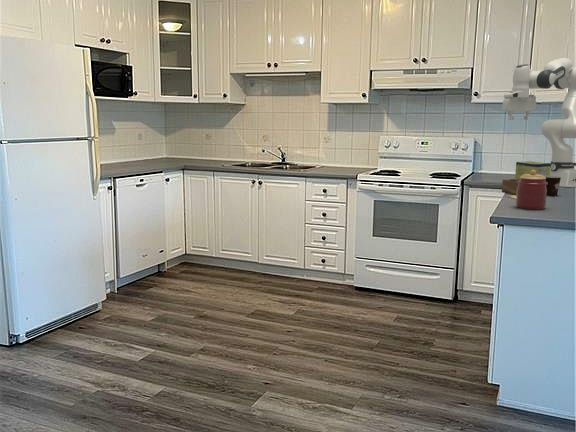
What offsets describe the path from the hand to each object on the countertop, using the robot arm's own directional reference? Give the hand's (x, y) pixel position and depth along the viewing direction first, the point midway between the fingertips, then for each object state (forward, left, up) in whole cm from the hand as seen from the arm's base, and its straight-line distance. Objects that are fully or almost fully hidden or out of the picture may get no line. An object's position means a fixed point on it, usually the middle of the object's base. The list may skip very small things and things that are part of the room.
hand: (518, 119), depth 309 cm
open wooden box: (+8, +14, -39) cm, 42 cm away
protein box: (-8, +5, -39) cm, 41 cm away
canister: (+32, +52, -39) cm, 73 cm away
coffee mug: (-2, +25, -39) cm, 47 cm away
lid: (+16, +28, -40) cm, 51 cm away
